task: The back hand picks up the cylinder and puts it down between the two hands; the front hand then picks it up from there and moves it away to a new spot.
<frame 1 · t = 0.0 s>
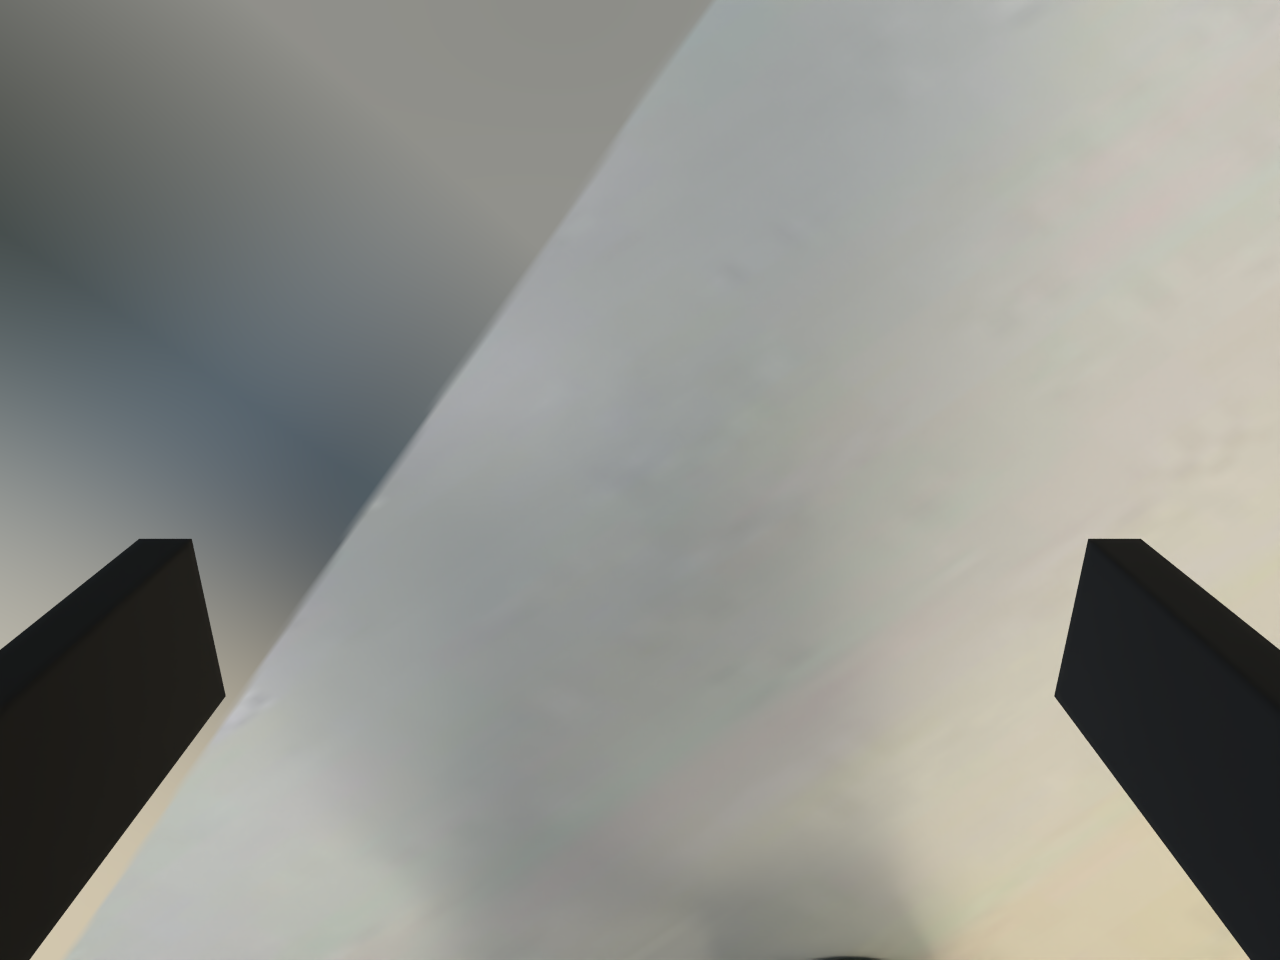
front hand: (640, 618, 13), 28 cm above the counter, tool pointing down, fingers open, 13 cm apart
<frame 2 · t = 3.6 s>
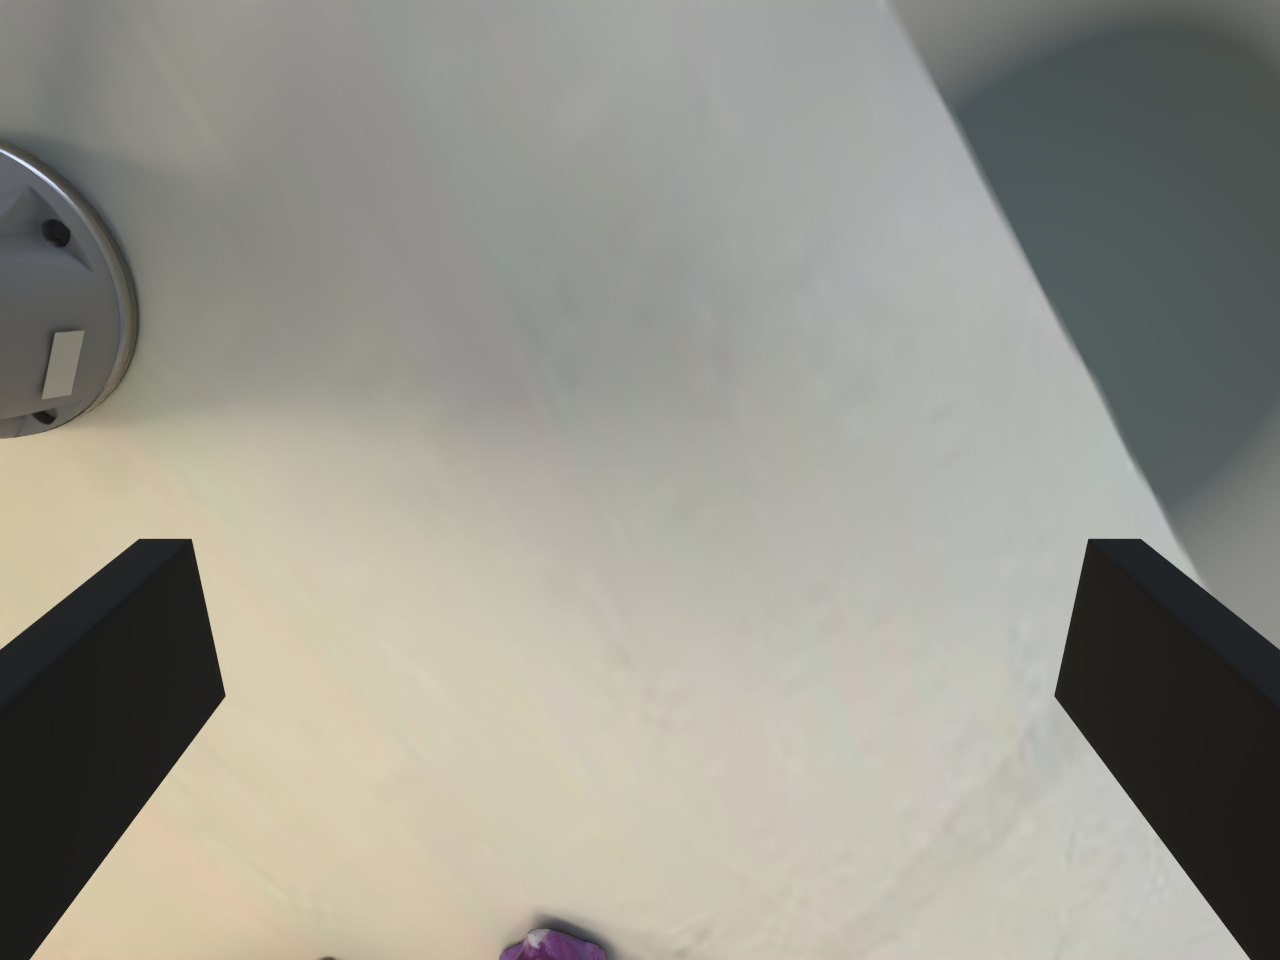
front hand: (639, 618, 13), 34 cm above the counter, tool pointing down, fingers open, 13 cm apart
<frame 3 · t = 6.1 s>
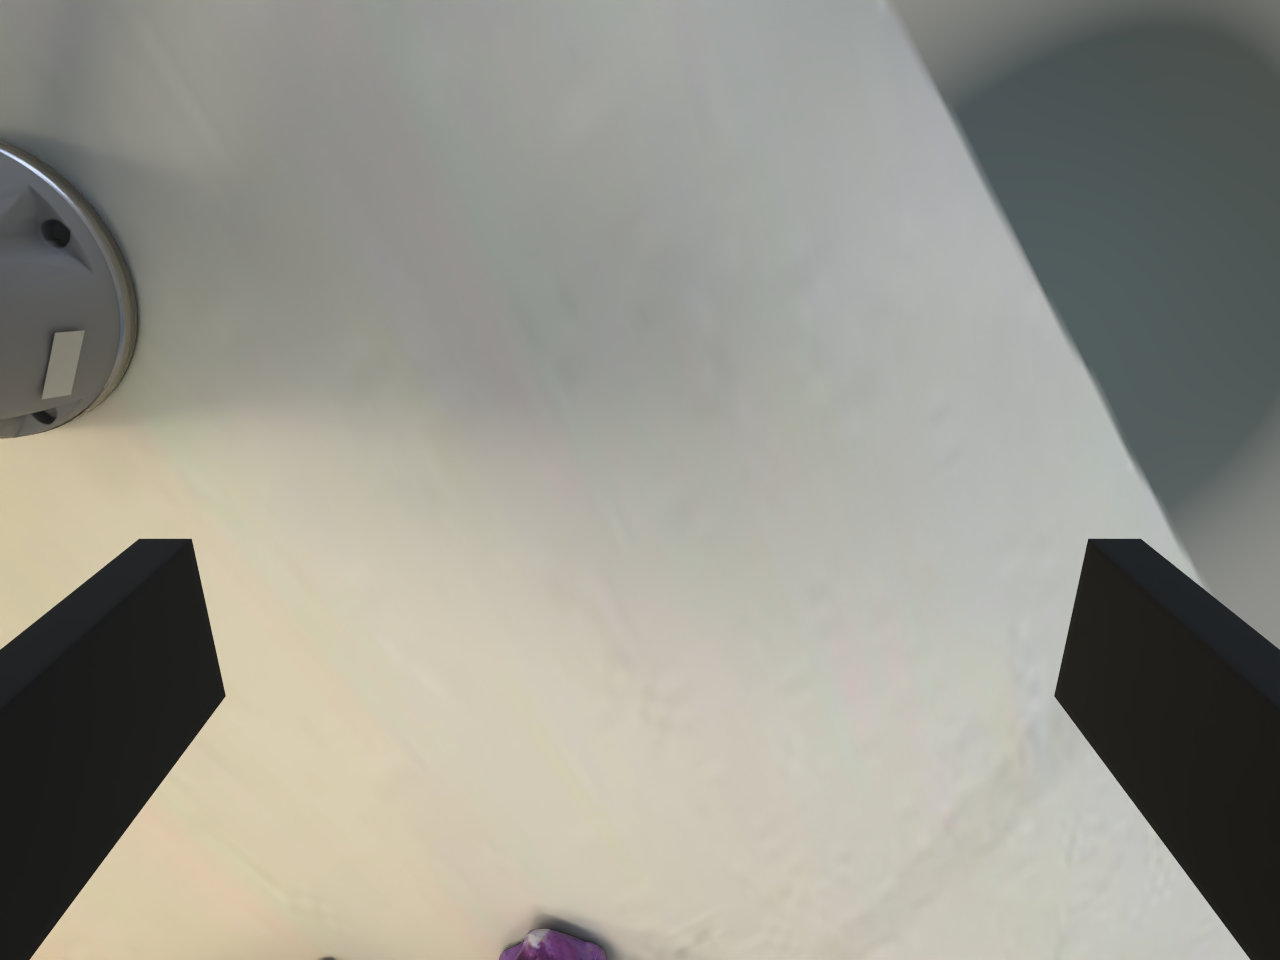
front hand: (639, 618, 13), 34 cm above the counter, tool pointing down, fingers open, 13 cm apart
when the back hand's fingers open (5 cm above the counter, at t = 8.7 s): cylinder drops 2 cm, on the counter.
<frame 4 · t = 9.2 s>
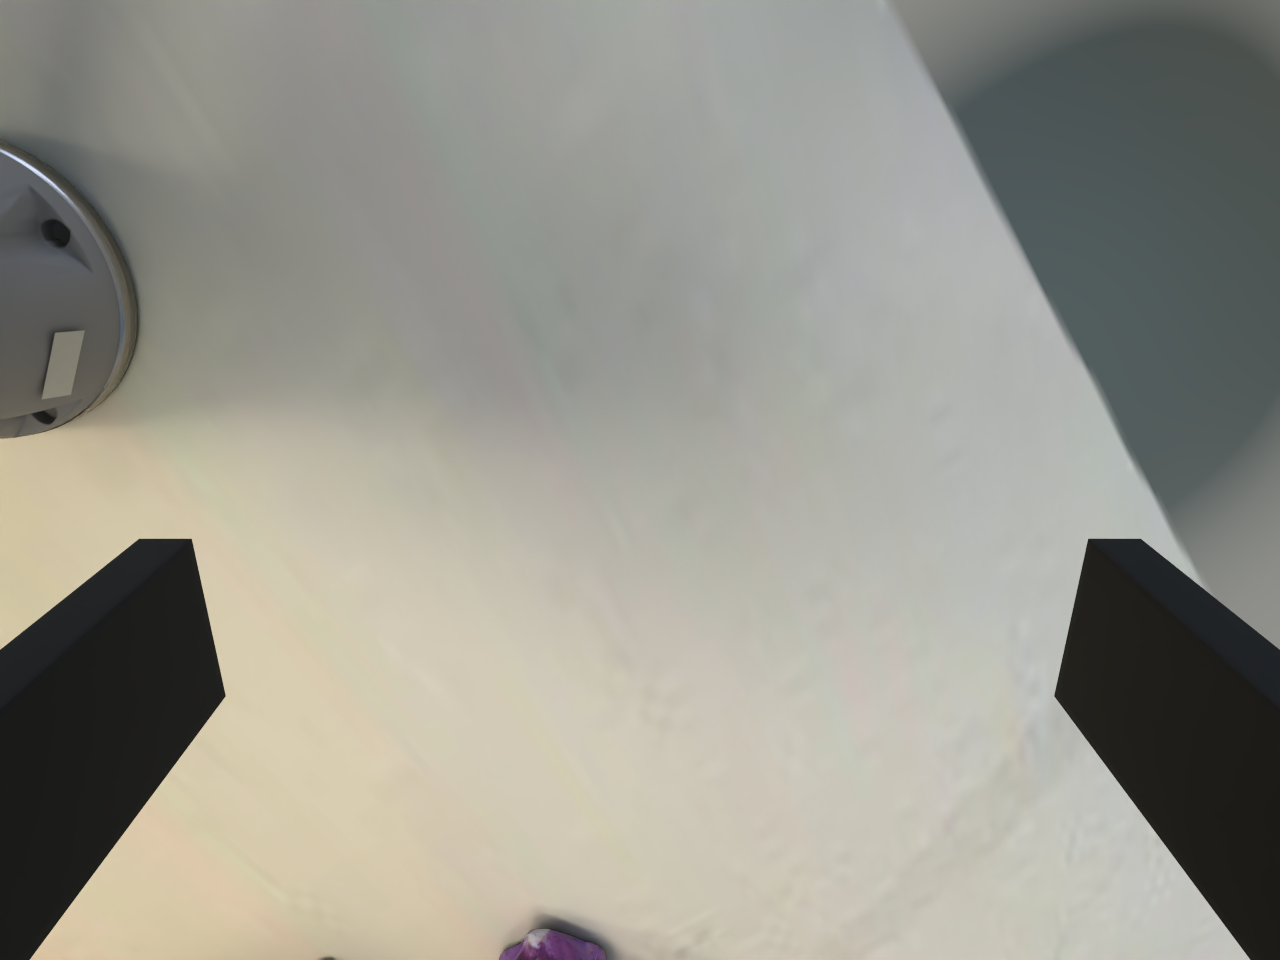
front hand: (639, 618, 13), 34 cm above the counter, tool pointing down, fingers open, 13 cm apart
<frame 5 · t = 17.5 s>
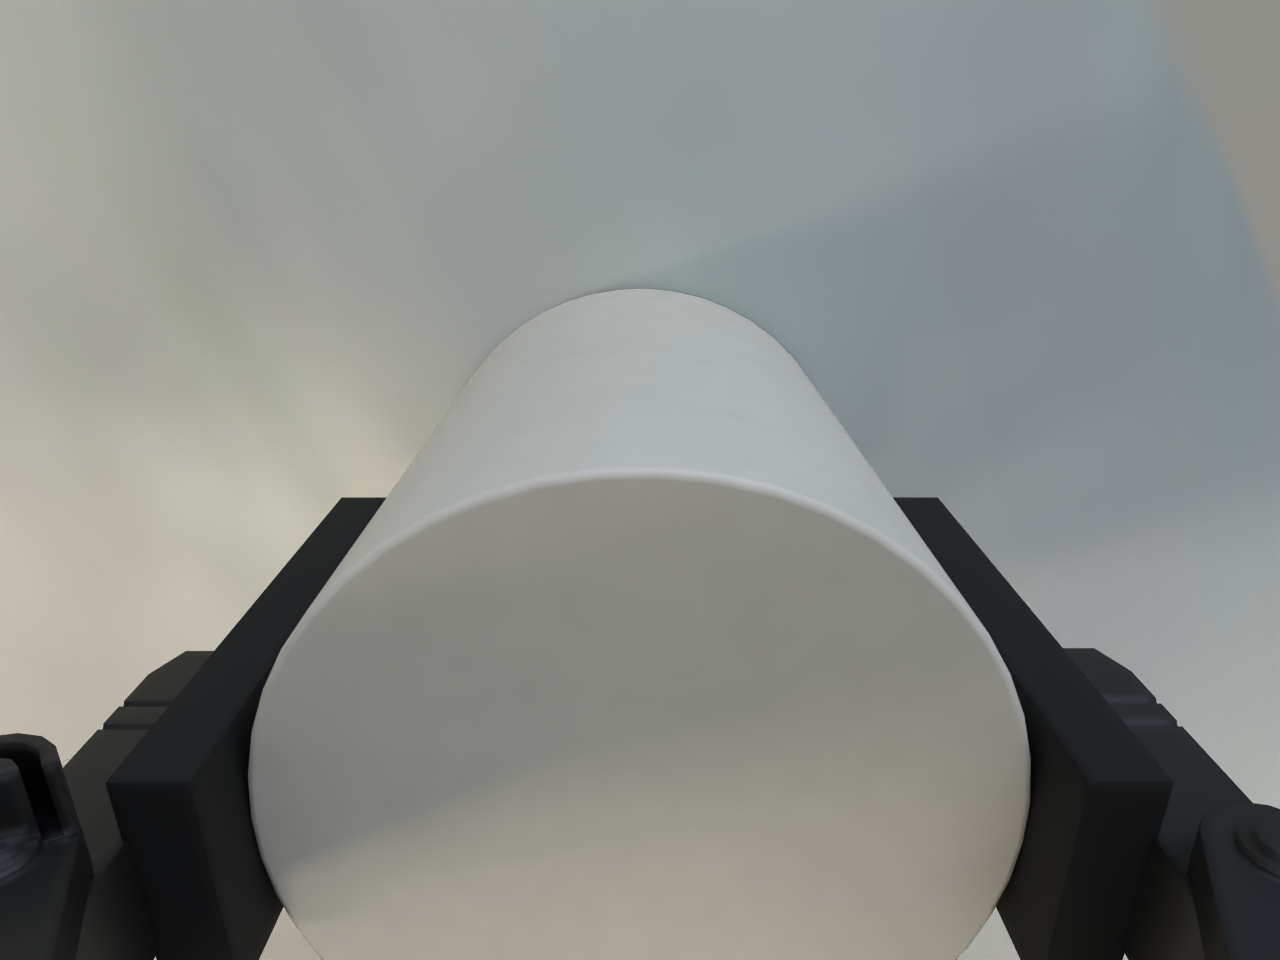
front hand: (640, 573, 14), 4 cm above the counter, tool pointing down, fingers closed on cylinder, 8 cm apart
cylinder: (639, 484, 18), on the counter, touching front hand
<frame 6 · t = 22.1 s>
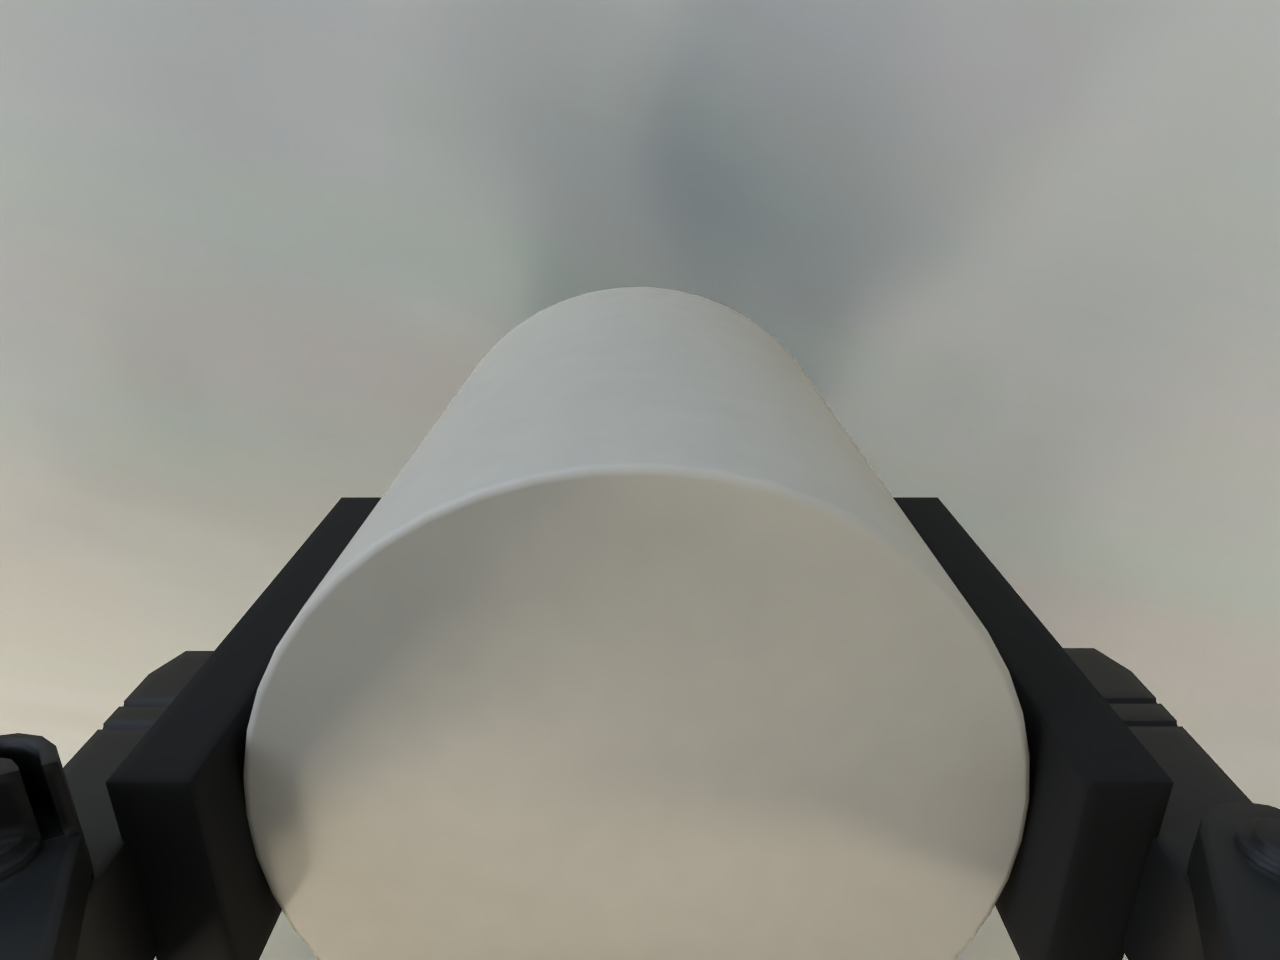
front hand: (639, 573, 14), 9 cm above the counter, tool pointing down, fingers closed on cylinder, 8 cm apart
cylinder: (638, 482, 18), point 5 cm above the counter, touching front hand
when the front hand's fingers open (5 cm above the counter, at t = 26.8 s): cylinder drops 2 cm, on the counter.
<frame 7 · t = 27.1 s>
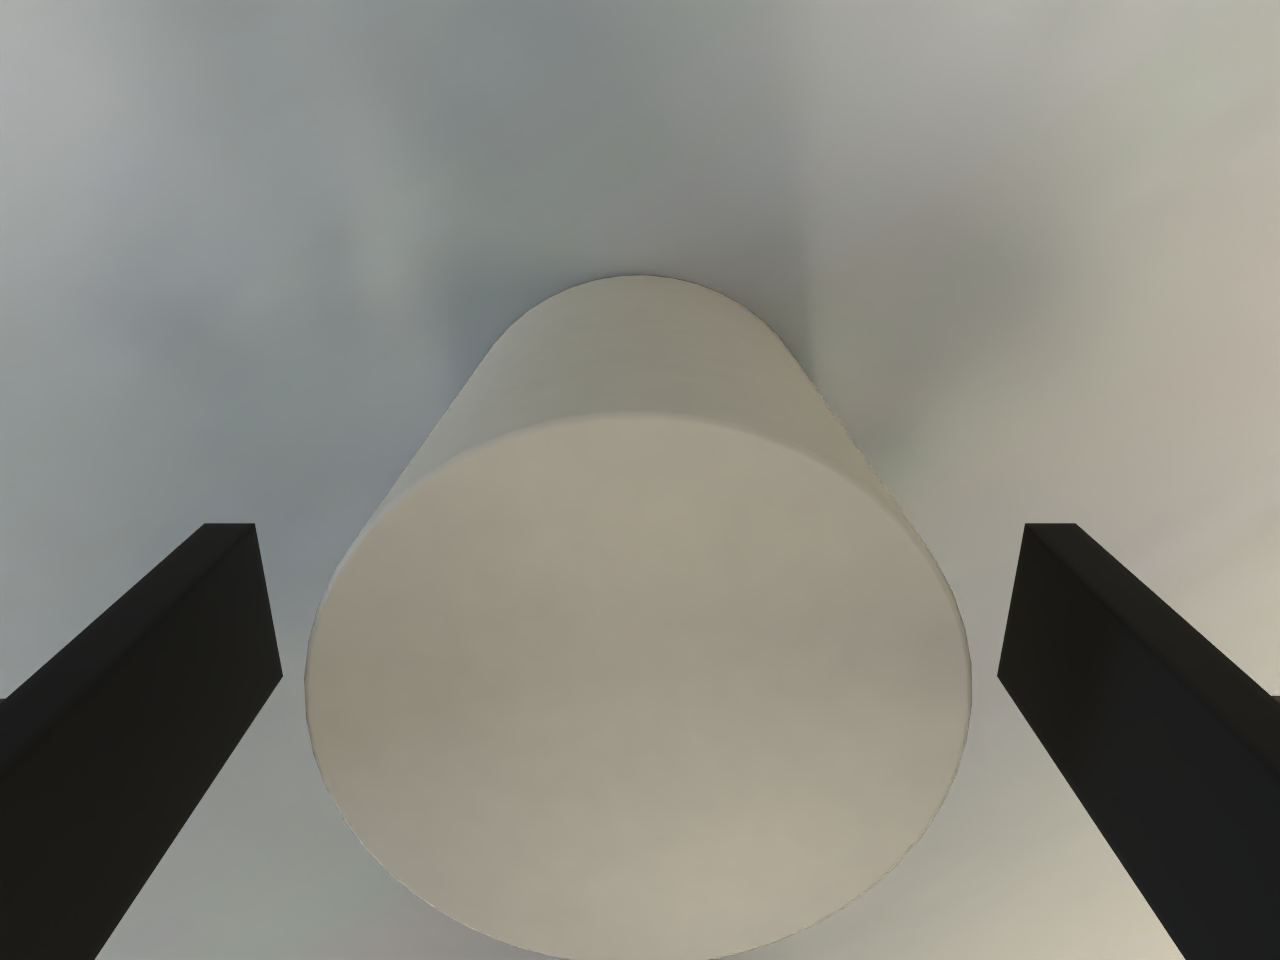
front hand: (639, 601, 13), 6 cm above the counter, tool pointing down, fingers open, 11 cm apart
cylinder: (639, 456, 19), on the counter
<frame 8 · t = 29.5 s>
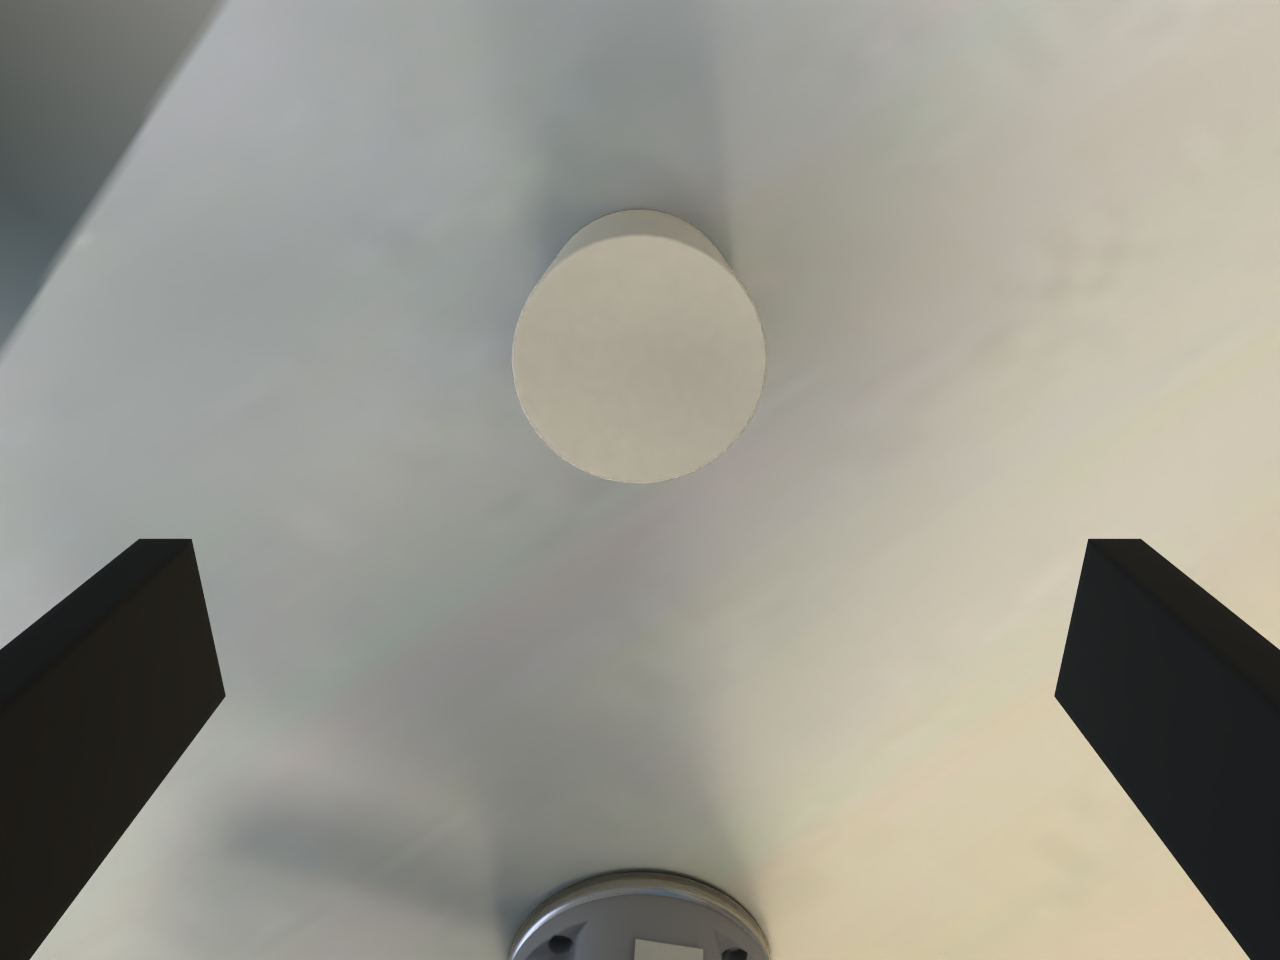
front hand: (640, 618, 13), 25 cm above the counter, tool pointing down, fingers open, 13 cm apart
cylinder: (639, 309, 36), on the counter
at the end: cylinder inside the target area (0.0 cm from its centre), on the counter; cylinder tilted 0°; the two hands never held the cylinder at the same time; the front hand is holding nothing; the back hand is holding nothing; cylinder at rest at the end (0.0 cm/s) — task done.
